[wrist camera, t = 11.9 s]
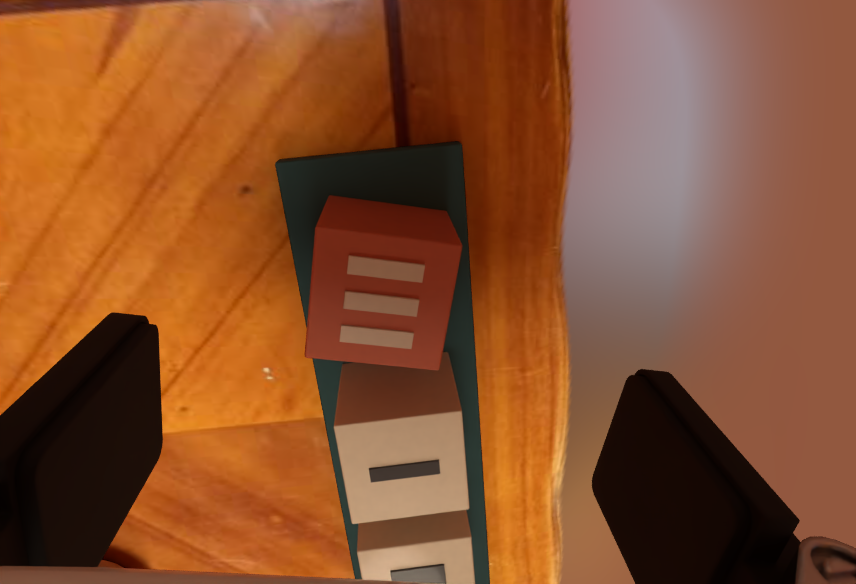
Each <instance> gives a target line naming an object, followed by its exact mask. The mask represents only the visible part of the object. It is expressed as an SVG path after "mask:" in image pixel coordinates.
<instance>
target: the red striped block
mask: <svg viewBox="0 0 856 584" xmlns="http://www.w3.org/2000/svg"><path fill="white" fill-rule="evenodd" d="M461 251H462V243H461V241H460V239H459V237H458V235H457V233H456V230H455V228H454V226H453V224H452V222H451V219H450V217H449V215H448V213H447V211H443V210H435V209H428V208H421V207H413V206H406V205H399V204H391V203H384V202H377V201H369V200H362V199H355V198H347V197H340V196H333V195H329V197H328V199H327V201H326V203H325V206H324V208H323V211H322V213H321V215H320V218H319V220H318V222H317V225H316V227H315V237H314V249H313V261H312V273H311V285H310V297H309V309H308V321H307V333H306V345H305V357H306V358H315V359H326V360H336V361H346V362H356V363H366V364H377V365H387V366H397V367H407V368H418V369H428V370H439V369H440V364H441V359H442V353H443V348H444V343H445V337H446V332H447V326H448V321H449V316H450V310H451V305H452V300H453V294H454V289H455V283H456V278H457V273H458V267H459V262H460V257H461Z"/></svg>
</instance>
